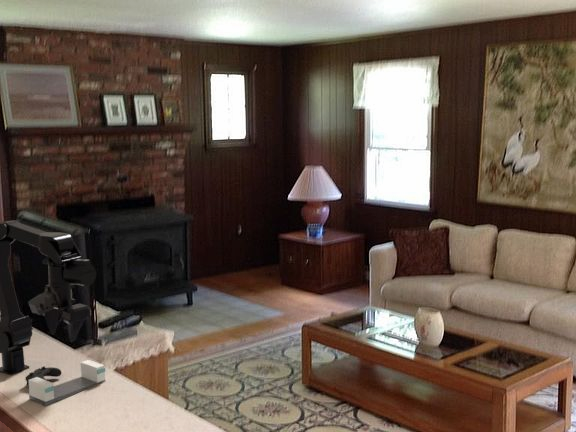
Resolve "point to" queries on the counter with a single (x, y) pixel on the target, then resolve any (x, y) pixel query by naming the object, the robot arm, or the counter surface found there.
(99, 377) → the mounted modules
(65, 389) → the rail plate
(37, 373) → the game controller
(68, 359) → the counter surface
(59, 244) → the robot arm
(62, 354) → the counter surface
